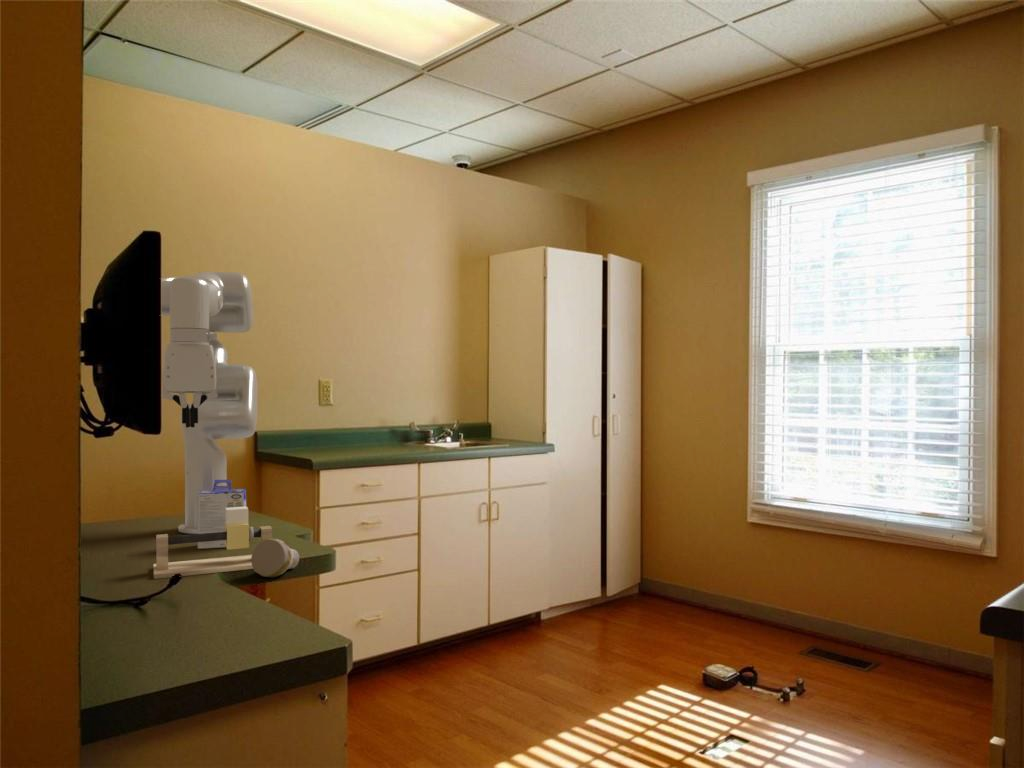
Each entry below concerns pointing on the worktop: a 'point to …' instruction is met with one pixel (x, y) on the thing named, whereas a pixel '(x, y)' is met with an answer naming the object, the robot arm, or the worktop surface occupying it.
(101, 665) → the worktop surface
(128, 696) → the worktop surface
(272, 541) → the mug
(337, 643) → the worktop surface
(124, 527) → the worktop surface
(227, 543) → the sleeve
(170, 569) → the roller holder rack
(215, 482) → the ink cartridge box
